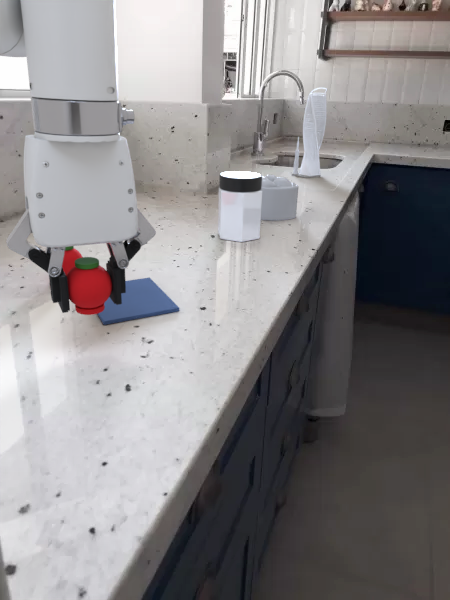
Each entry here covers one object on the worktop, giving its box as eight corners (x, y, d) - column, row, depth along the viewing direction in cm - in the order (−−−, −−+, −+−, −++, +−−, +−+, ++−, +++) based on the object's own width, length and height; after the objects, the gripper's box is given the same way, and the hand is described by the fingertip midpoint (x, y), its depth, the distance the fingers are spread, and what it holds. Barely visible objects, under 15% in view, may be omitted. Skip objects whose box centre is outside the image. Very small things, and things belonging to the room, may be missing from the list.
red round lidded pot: (71, 322, 48) (67, 271, 46) (62, 303, 52) (58, 255, 50) (118, 314, 51) (116, 265, 48) (106, 297, 54) (104, 251, 52)
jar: (266, 234, 98) (270, 173, 93) (252, 244, 91) (255, 180, 86) (226, 228, 101) (227, 169, 96) (209, 237, 94) (210, 175, 90)
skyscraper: (307, 173, 172) (316, 87, 160) (325, 176, 166) (335, 87, 155) (291, 175, 167) (298, 86, 155) (309, 178, 161) (318, 87, 150)
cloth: (103, 325, 59) (103, 321, 59) (82, 290, 69) (82, 287, 69) (179, 311, 63) (179, 307, 63) (149, 280, 73) (149, 277, 73)
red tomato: (54, 287, 69) (50, 251, 67) (49, 276, 73) (44, 242, 71) (88, 282, 71) (85, 247, 69) (81, 272, 75) (78, 238, 73)
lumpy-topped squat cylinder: (244, 207, 119) (245, 171, 115) (297, 211, 117) (300, 175, 113) (237, 217, 109) (238, 179, 106) (294, 222, 107) (297, 182, 104)
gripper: (152, 119, 50) (154, 280, 58) (-29, 115, 43) (-1, 301, 51) (179, 126, 44) (177, 305, 52) (-26, 123, 37) (6, 333, 44)
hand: (89, 301), depth 51 cm, fingers closed on red round lidded pot, 4 cm apart
